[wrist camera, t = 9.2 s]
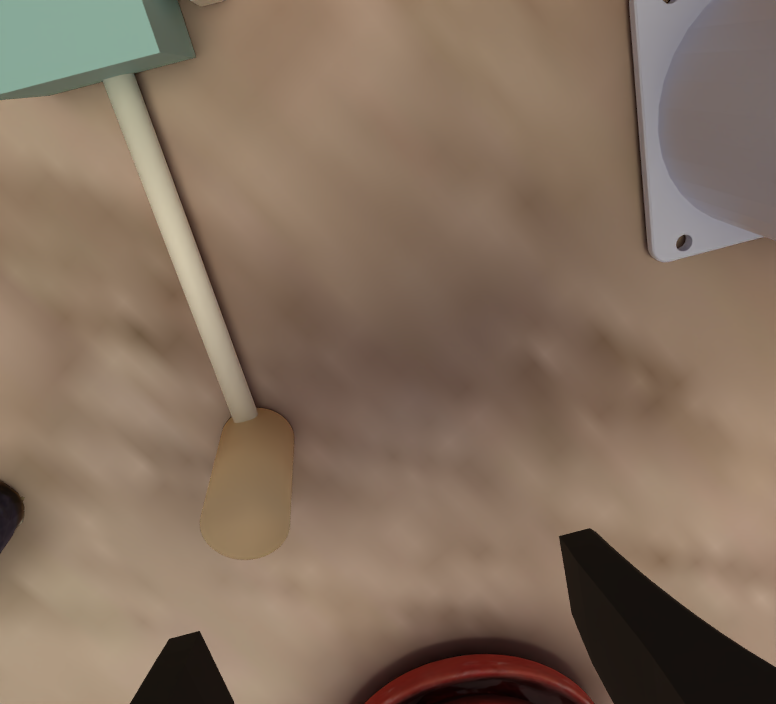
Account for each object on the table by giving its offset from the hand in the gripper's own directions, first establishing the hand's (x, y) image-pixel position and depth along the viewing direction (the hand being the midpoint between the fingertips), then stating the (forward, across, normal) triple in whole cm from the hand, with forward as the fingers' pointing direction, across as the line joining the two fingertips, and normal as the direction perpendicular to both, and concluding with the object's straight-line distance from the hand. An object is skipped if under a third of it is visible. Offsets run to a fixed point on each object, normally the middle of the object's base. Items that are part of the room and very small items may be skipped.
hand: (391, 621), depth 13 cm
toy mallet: (+10, +4, -7) cm, 12 cm away
